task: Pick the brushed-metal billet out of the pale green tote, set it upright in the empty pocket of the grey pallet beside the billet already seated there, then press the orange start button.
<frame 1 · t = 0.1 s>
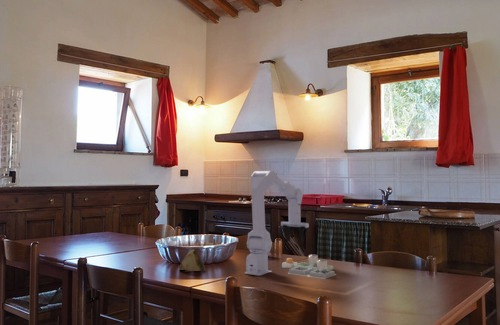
hand: (294, 242, 220), 10 cm above the table, tool pointing down, fingers open, 7 cm apart
billet b: (313, 269, 202), resting on tote
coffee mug: (258, 256, 240), on the table
rock: (191, 271, 203), on the table
tote: (313, 270, 202), on the table
button housing: (289, 268, 207), on the table
billet a: (322, 275, 188), point 1 cm above the table, touching pallet
button cap: (289, 261, 207), point 3 cm above the table, slide at 0.0 cm
pallet: (311, 275, 191), on the table
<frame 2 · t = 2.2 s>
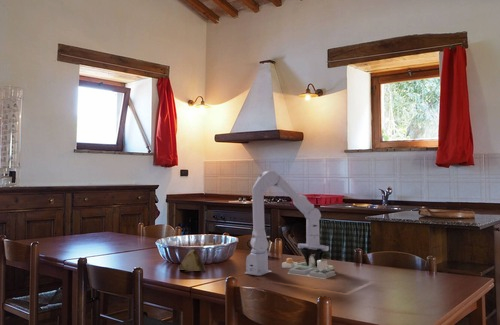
hand: (313, 266, 202), 2 cm above the table, tool pointing down, fingers closed on billet b, 4 cm apart
billet b: (313, 269, 202), resting on tote, touching gripper
everything else where it was.
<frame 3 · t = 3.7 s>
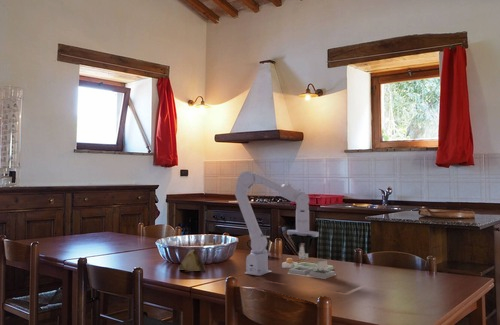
hand: (302, 252, 196), 9 cm above the table, tool pointing down, fingers closed on billet b, 4 cm apart
billet b: (303, 258, 196), point 6 cm above the table, touching gripper
everything else where it was.
when the fingers open (3 cm above the table, at t = 5.4 s): billet b stays where it is, resting on pallet.
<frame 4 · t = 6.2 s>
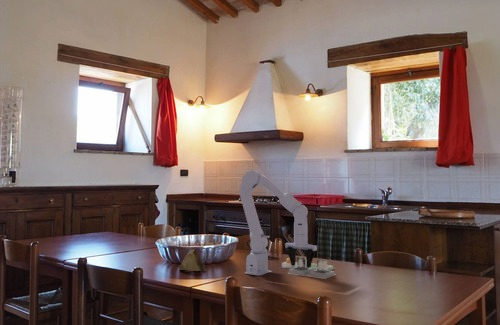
hand: (300, 266, 194), 3 cm above the table, tool pointing down, fingers open, 7 cm apart
billet b: (301, 272, 195), point 1 cm above the table, touching pallet
everything else where it was.
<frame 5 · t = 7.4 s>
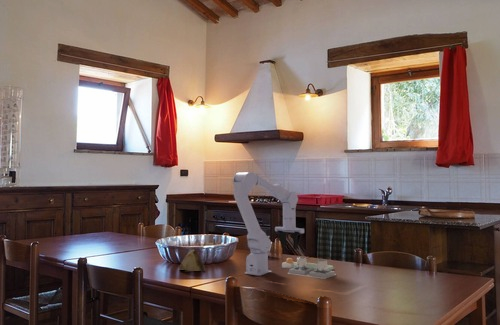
hand: (289, 248, 207), 9 cm above the table, tool pointing down, fingers open, 6 cm apart
nothing on the table moved.
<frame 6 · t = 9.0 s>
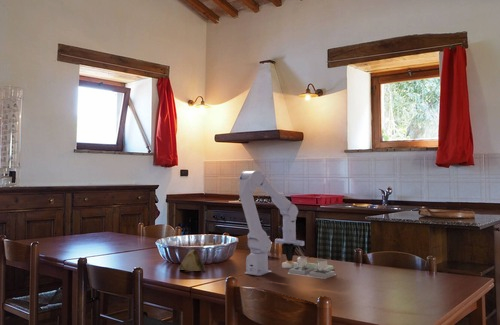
hand: (289, 260, 207), 3 cm above the table, tool pointing down, fingers closed, pressing on button cap
button cap: (289, 264, 207), point 2 cm above the table, slide at 0.9 cm, touching gripper
everything else where it was.
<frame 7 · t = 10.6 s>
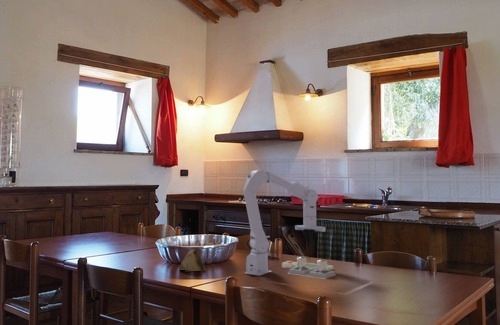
hand: (310, 247, 204), 10 cm above the table, tool pointing down, fingers closed
button cap: (289, 264, 207), point 2 cm above the table, slide at 1.2 cm
everything else where it was.
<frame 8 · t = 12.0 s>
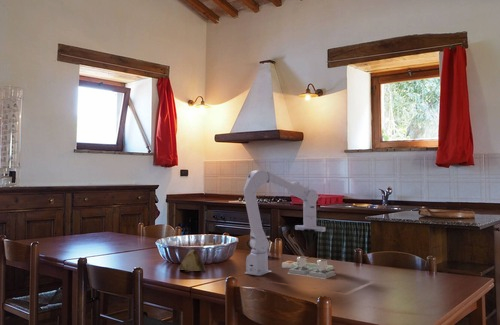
hand: (310, 247, 204), 10 cm above the table, tool pointing down, fingers closed
nothing on the table moved.
at the end: billet b 0.6 cm from the target spot on the pallet, point 0.9 cm above the pallet's base; billet b tilted 3°; button cap slide at 1.2 cm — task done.
